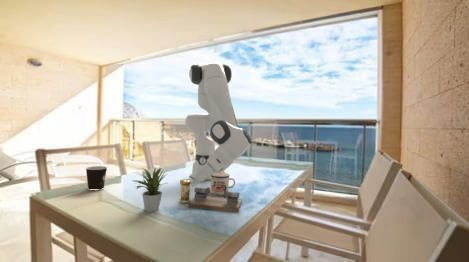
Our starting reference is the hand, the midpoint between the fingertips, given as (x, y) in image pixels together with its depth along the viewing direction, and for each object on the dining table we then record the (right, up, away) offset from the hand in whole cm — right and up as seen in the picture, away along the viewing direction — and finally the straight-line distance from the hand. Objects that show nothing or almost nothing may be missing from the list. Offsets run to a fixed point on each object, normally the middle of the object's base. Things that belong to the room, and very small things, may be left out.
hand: (195, 182), depth 105 cm
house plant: (-16, -8, -9) cm, 20 cm away
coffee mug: (-48, -6, +15) cm, 51 cm away
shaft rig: (+9, -9, -1) cm, 13 cm away
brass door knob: (-5, -8, +1) cm, 10 cm away
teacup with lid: (+10, -9, +17) cm, 22 cm away
